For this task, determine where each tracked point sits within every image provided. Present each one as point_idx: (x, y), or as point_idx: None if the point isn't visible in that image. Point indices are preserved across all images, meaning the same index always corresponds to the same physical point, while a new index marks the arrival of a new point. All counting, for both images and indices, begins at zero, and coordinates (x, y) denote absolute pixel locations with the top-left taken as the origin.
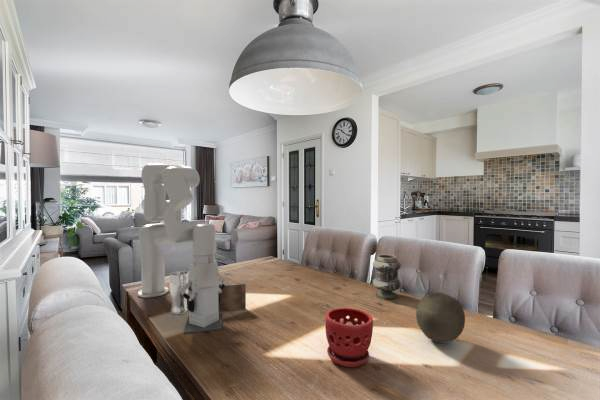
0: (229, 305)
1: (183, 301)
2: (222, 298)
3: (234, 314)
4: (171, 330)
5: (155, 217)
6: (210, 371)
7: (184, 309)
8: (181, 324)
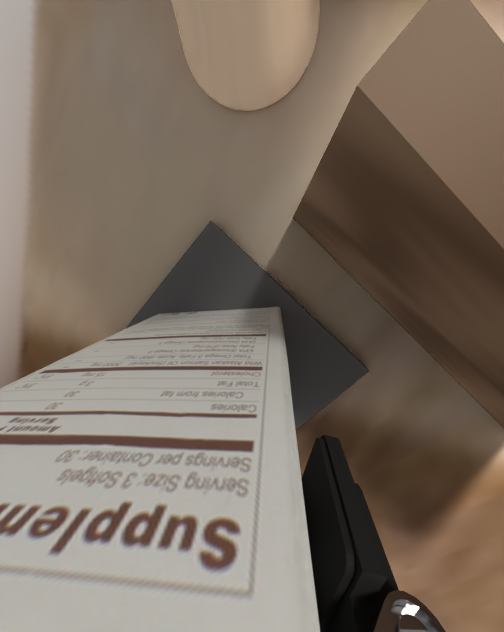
0: (469, 385)
1: (228, 9)
2: (490, 380)
3: (404, 422)
4: (71, 282)
5: None
6: None
7: (250, 87)
8: (140, 265)
